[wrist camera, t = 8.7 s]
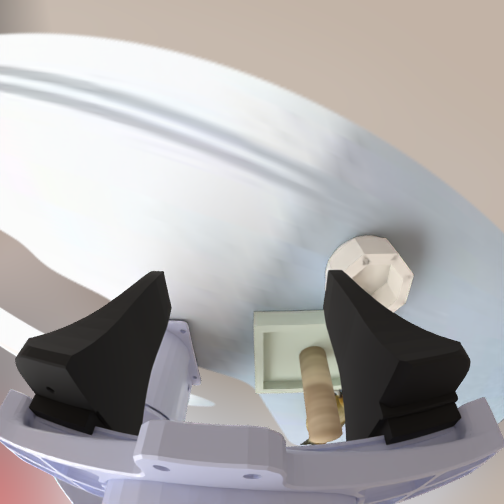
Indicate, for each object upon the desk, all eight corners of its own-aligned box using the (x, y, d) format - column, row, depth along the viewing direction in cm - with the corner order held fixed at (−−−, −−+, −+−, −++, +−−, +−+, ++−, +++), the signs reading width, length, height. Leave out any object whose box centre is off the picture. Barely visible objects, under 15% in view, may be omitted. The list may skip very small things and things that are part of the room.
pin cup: (388, 299, 24) (399, 321, 22) (321, 303, 25) (327, 326, 22) (403, 235, 21) (419, 252, 19) (328, 234, 22) (338, 254, 19)
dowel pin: (323, 362, 27) (338, 440, 19) (297, 364, 27) (307, 444, 19) (327, 345, 26) (345, 427, 18) (299, 346, 26) (311, 431, 18)
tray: (353, 375, 30) (357, 387, 28) (255, 380, 30) (255, 393, 28) (374, 307, 25) (380, 319, 23) (253, 311, 25) (253, 325, 24)
